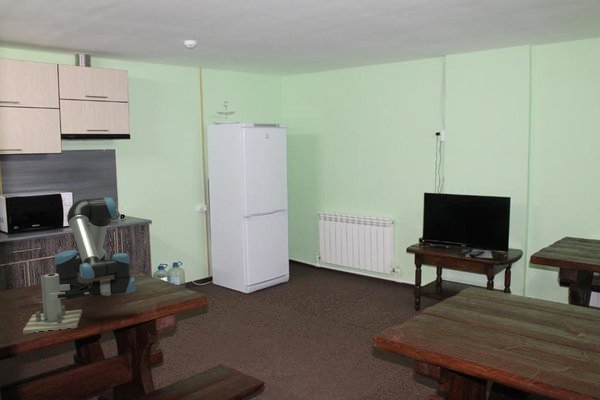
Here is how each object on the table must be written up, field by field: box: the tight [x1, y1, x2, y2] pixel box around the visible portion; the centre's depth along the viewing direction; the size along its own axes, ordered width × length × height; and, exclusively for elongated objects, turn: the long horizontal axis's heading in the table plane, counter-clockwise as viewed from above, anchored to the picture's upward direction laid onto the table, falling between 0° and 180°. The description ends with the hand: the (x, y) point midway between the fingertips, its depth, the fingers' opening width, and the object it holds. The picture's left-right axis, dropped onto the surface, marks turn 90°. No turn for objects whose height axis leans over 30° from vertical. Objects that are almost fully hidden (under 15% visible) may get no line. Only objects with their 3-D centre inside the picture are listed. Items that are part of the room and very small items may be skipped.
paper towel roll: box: [40, 273, 62, 321], centre depth 237 cm, size 7×6×21 cm
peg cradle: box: [22, 304, 83, 335], centre depth 238 cm, size 22×22×6 cm
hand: (52, 292), depth 236 cm, fingers open, 13 cm apart
